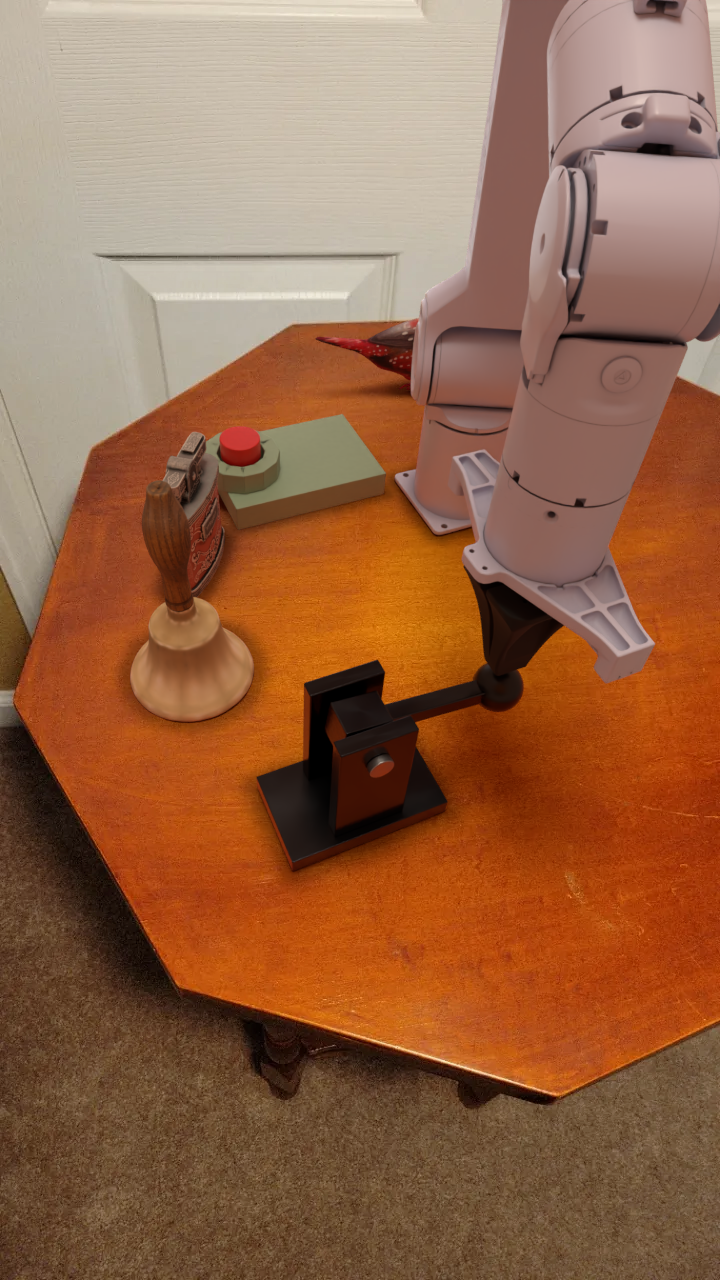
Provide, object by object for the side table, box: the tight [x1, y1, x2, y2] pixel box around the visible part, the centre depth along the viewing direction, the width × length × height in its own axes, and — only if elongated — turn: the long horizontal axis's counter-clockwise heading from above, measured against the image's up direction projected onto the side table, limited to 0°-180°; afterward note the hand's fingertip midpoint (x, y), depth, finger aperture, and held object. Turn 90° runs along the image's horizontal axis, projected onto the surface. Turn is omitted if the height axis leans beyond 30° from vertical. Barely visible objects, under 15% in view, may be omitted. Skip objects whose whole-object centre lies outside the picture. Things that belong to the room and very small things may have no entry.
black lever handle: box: [325, 662, 525, 745], centre depth 45 cm, size 12×3×3 cm, turn 114°
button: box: [219, 425, 261, 467], centre depth 64 cm, size 3×3×2 cm
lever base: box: [255, 659, 449, 872], centre depth 46 cm, size 10×6×10 cm, turn 114°
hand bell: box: [129, 479, 255, 723], centre depth 49 cm, size 8×8×16 cm
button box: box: [205, 413, 387, 531], centre depth 67 cm, size 14×9×4 cm, turn 114°
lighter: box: [161, 431, 226, 598], centre depth 58 cm, size 8×3×10 cm, turn 168°
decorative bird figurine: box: [314, 317, 419, 391], centre depth 75 cm, size 3×18×10 cm, turn 103°
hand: (505, 662), depth 45 cm, fingers closed
